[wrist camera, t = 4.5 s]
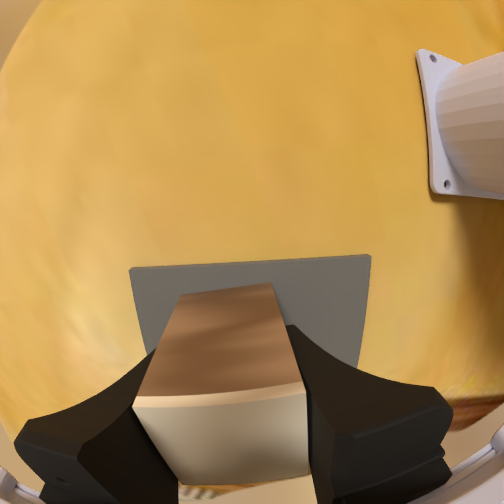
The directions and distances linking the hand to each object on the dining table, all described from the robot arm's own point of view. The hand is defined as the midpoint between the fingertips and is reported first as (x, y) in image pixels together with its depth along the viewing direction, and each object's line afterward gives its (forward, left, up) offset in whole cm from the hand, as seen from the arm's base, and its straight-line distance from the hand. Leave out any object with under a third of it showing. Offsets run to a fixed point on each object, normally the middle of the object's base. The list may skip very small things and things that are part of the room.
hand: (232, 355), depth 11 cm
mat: (-1, +3, -3) cm, 4 cm away
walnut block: (0, 0, -2) cm, 2 cm away
